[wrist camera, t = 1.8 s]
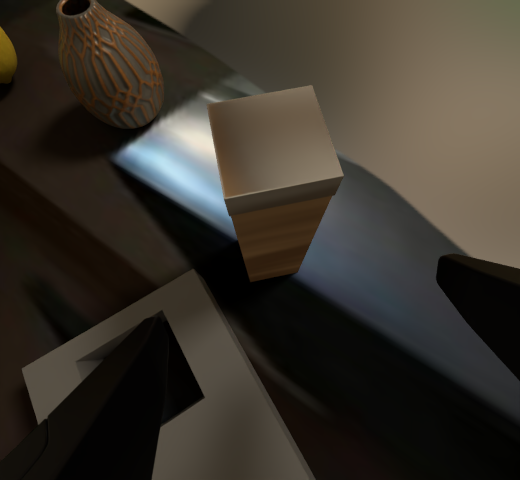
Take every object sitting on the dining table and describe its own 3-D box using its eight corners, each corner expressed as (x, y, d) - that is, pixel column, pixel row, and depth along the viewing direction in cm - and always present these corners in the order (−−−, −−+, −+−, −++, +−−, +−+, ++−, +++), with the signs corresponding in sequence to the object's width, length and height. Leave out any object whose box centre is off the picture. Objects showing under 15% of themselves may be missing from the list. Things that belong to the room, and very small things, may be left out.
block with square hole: (336, 516, 16) (351, 554, 13) (159, 659, 14) (133, 737, 12) (203, 278, 21) (193, 268, 18) (58, 364, 19) (21, 368, 16)
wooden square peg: (298, 272, 21) (343, 175, 8) (249, 282, 21) (224, 199, 8) (286, 227, 22) (311, 85, 10) (240, 236, 22) (206, 104, 9)
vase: (139, 154, 24) (74, 60, 16) (82, 120, 26) (-6, 17, 18) (188, 101, 26) (152, -9, 18) (132, 71, 28) (75, -43, 19)
